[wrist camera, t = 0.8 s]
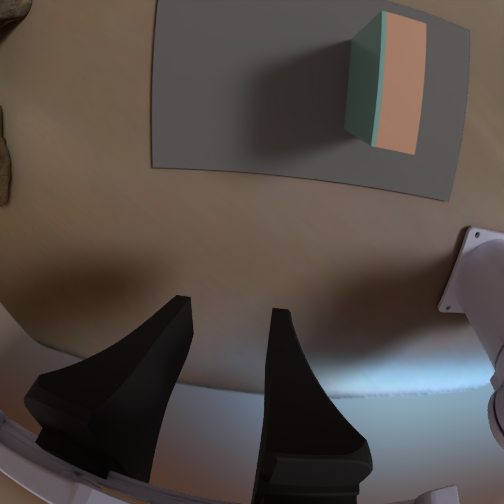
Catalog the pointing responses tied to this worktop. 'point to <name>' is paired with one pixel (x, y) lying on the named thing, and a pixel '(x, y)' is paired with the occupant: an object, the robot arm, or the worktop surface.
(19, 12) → the sculpture
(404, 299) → the worktop surface
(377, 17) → the tile
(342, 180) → the mat
